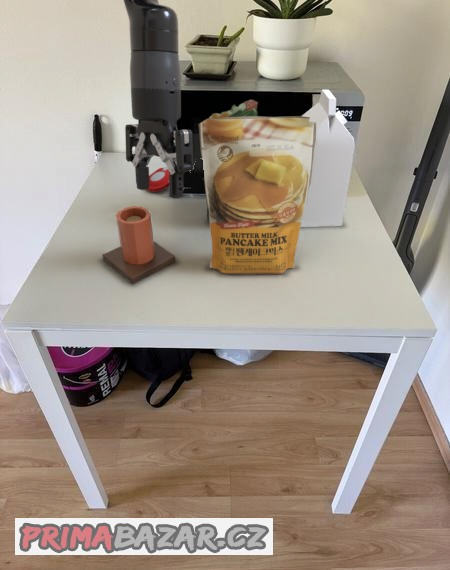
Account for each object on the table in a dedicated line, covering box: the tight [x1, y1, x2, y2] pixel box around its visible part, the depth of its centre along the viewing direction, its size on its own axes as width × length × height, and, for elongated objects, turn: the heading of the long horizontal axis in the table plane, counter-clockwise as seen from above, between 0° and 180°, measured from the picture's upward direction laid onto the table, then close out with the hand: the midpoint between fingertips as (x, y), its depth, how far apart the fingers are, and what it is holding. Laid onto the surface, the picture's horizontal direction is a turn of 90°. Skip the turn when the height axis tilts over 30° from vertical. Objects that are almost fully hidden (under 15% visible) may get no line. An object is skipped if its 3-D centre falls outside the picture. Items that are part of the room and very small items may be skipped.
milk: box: [301, 89, 356, 228], centre depth 93 cm, size 12×12×26 cm
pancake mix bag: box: [197, 115, 316, 275], centre depth 77 cm, size 7×19×28 cm, turn 91°
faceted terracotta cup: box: [115, 205, 155, 265], centre depth 82 cm, size 6×6×9 cm
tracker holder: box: [146, 166, 169, 193], centre depth 109 cm, size 12×4×10 cm
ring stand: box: [102, 216, 177, 285], centre depth 83 cm, size 10×10×10 cm
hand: (159, 193), depth 73 cm, fingers open, 8 cm apart
